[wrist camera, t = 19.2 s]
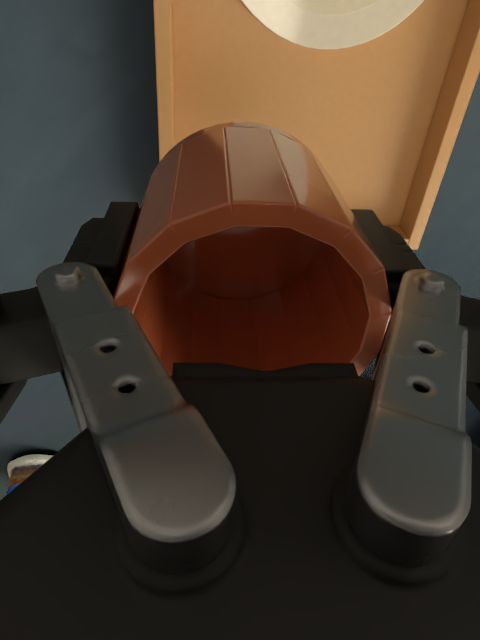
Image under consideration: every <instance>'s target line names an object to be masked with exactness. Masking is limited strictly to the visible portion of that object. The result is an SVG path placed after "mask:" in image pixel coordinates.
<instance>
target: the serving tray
mask: <svg viewBox="0 0 480 640" xmlns="http://www.w3.org/2000/svg"><path fill="white" fill-rule="evenodd" d="M153 8H154V33H155V59H156V85H157V110H158V136H159V162H160V161H161V159H162V158H163V157H164V156H165V155H166V154H167V152H168V151H169V150H171V149H172V148H173V147H174V146H175V145H176V144H177V143H179V142H180V141H182V140H183V139H185V138H186V137H188V136H189V135H191V134H193V133H195V132H197V131H199V130H201V129H204V128H207V127H210V126H213V125H217V124H222V123H228V122H253V123H260V124H264V125H268V126H272V127H275V128H277V129H280V130H282V131H284V132H287V133H288V134H290V135H292V136H293V137H295V138H297V139H298V140H299V141H301V142H302V143H303V144H304V145H306V146H307V147H308V148H309V149H310V150H311V151H312V152H313V153H314V155H315V156H316V157H317V158H318V160H319V161H320V163H321V164H322V165H323V167H324V169H325V170H326V171H327V172H328V174H329V175H330V176H331V178H332V179H333V181H334V182H335V184H336V186H337V188H338V189H339V191H340V193H341V194H342V196H343V198H344V199H345V201H346V203H347V204H348V206H349V208H350V209H367V210H373V211H374V213H375V214H376V216H377V217H378V219H379V220H380V222H381V223H382V225H383V226H389V227H390V228H392V229H393V230H395V231H396V232H398V233H399V234H401V236H402V237H403V238H404V240H405V241H406V243H407V245H409V247H410V248H411V249H412V250H417V249H418V247H419V244H420V241H421V238H422V235H423V232H424V230H425V227H426V224H427V221H428V218H429V215H430V212H431V209H432V207H433V204H434V201H435V198H436V195H437V192H438V189H439V186H440V183H441V181H442V178H443V175H444V172H445V169H446V166H447V163H448V160H449V158H450V155H451V152H452V149H453V146H454V143H455V140H456V137H457V134H458V132H459V129H460V126H461V123H462V120H463V117H464V114H465V111H466V109H467V106H468V103H469V100H470V97H471V94H472V91H473V88H474V85H475V83H476V80H477V77H478V74H479V71H480V0H424V1H423V2H422V3H421V4H420V5H419V6H418V7H417V8H416V9H415V10H414V11H413V12H412V13H411V14H410V15H409V16H408V17H407V18H405V19H404V20H403V21H402V22H400V23H399V24H398V25H397V26H395V27H394V28H392V29H391V30H389V31H387V32H386V33H384V34H383V35H381V36H379V37H377V38H374V39H372V40H370V41H368V42H366V43H363V44H359V45H356V46H353V47H348V48H342V49H331V50H320V49H314V48H307V47H304V46H300V45H297V44H294V43H291V42H289V41H287V40H285V39H283V38H281V37H279V36H278V35H276V34H275V33H273V32H272V31H270V30H269V29H268V28H266V27H265V26H264V25H263V24H261V23H260V22H259V21H258V20H257V19H256V18H255V17H254V16H253V15H252V14H251V13H250V12H249V10H248V9H247V8H246V7H245V5H244V4H243V3H242V2H241V0H153Z"/></svg>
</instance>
